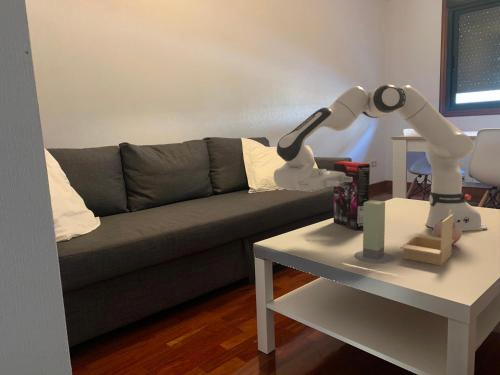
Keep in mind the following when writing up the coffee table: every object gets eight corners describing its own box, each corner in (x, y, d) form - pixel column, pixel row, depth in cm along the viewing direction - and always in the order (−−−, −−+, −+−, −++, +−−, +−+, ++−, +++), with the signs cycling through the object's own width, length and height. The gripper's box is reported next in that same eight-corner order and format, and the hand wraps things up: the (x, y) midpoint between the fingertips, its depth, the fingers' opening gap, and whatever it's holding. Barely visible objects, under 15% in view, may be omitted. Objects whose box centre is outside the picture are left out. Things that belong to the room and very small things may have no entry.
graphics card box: (332, 222, 177) (332, 161, 172) (345, 220, 179) (345, 160, 175) (356, 231, 161) (357, 164, 157) (370, 228, 164) (371, 163, 159)
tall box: (362, 256, 129) (363, 202, 126) (369, 252, 132) (370, 200, 129) (377, 259, 125) (378, 204, 123) (384, 255, 129) (385, 201, 126)
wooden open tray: (400, 262, 124) (401, 218, 122) (418, 248, 137) (419, 208, 135) (438, 269, 117) (440, 223, 115) (453, 254, 130) (455, 212, 128)
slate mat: (387, 252, 134) (387, 250, 134) (397, 264, 122) (397, 262, 122) (351, 252, 135) (351, 250, 135) (357, 264, 124) (357, 262, 123)
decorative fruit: (467, 248, 135) (468, 220, 133) (445, 250, 134) (446, 222, 132) (449, 241, 144) (450, 214, 142) (428, 242, 143) (429, 215, 141)
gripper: (295, 175, 139) (330, 176, 131) (324, 168, 155) (357, 169, 146) (296, 192, 140) (331, 195, 132) (325, 184, 156) (358, 186, 147)
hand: (345, 181), depth 139 cm, fingers open, 8 cm apart
